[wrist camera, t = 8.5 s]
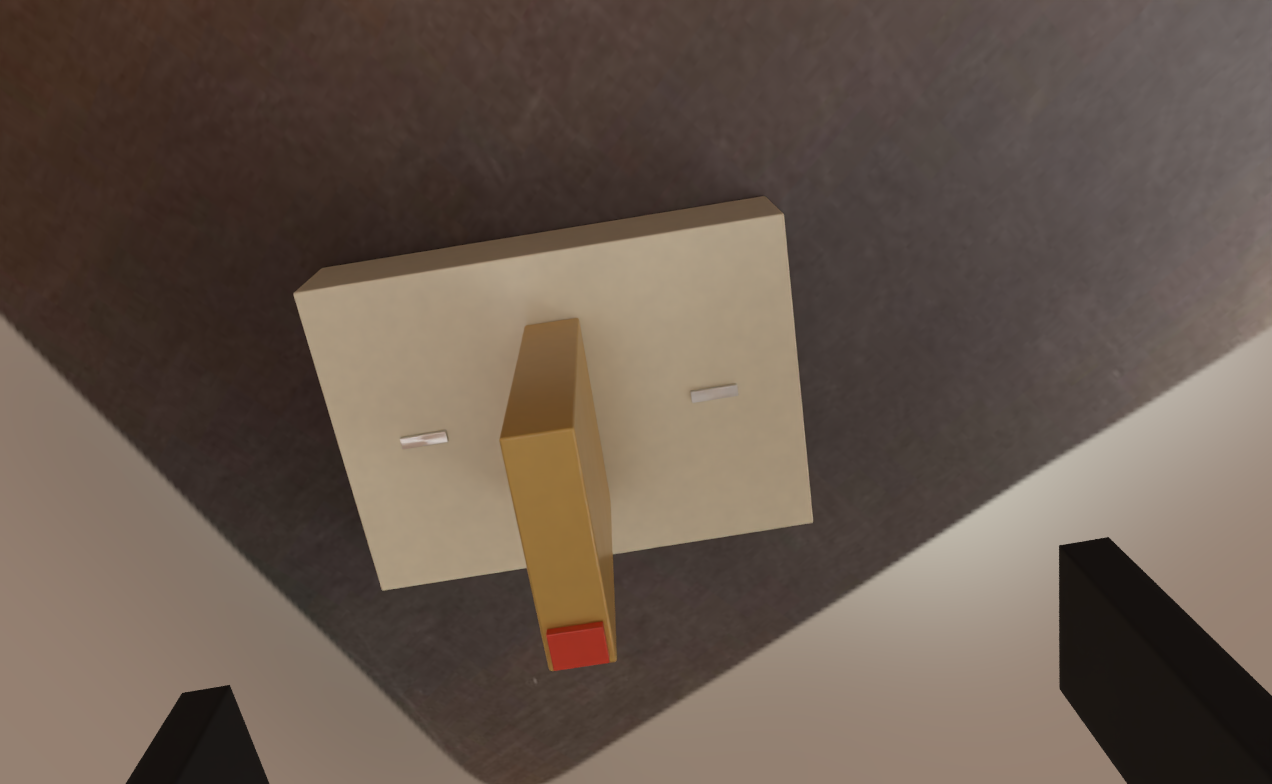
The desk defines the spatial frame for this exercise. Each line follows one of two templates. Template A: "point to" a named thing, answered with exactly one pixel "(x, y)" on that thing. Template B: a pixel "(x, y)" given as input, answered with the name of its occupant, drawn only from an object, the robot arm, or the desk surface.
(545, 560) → the tan box with red
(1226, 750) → the robot arm
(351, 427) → the lock plate
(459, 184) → the desk surface
